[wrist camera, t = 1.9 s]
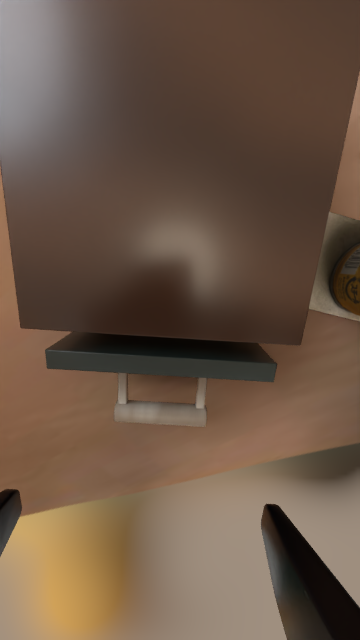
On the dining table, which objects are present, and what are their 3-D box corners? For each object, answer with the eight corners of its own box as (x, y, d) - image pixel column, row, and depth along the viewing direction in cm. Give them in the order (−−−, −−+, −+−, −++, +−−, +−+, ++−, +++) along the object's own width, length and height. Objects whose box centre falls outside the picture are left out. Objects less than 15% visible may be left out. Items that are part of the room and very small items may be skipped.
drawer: (238, 397, 20) (261, 450, 14) (89, 388, 20) (53, 439, 14) (278, 128, 15) (337, 48, 9) (76, 113, 15) (12, 24, 9)
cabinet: (254, 313, 19) (301, 346, 12) (82, 302, 19) (19, 328, 12) (292, 69, 15) (401, -121, 7) (70, 52, 15) (-41, -158, 7)
